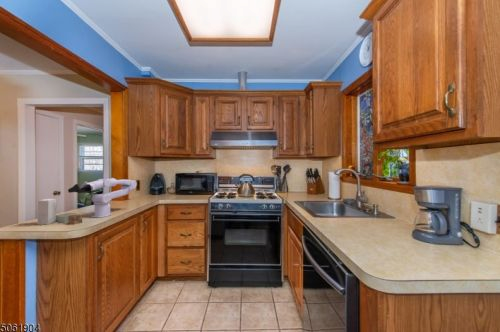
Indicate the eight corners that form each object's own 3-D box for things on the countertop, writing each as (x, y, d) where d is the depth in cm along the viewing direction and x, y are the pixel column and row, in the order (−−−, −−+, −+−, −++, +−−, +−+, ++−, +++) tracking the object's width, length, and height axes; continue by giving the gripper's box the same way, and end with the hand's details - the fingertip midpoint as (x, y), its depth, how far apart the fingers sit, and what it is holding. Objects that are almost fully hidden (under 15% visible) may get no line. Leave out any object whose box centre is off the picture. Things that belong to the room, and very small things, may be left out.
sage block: (68, 218, 164) (68, 212, 164) (80, 219, 161) (80, 213, 161) (53, 221, 154) (53, 215, 154) (65, 223, 151) (65, 216, 151)
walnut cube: (76, 222, 154) (76, 214, 154) (82, 222, 152) (82, 214, 152) (68, 223, 149) (68, 215, 149) (74, 224, 147) (74, 216, 147)
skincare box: (46, 221, 152) (46, 198, 152) (56, 221, 153) (57, 198, 153) (36, 225, 144) (37, 200, 144) (48, 224, 145) (48, 200, 145)
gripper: (83, 180, 165) (63, 184, 152) (100, 180, 161) (81, 185, 148) (84, 190, 166) (65, 195, 153) (101, 190, 162) (83, 196, 149)
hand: (73, 191), depth 151 cm, fingers open, 7 cm apart
